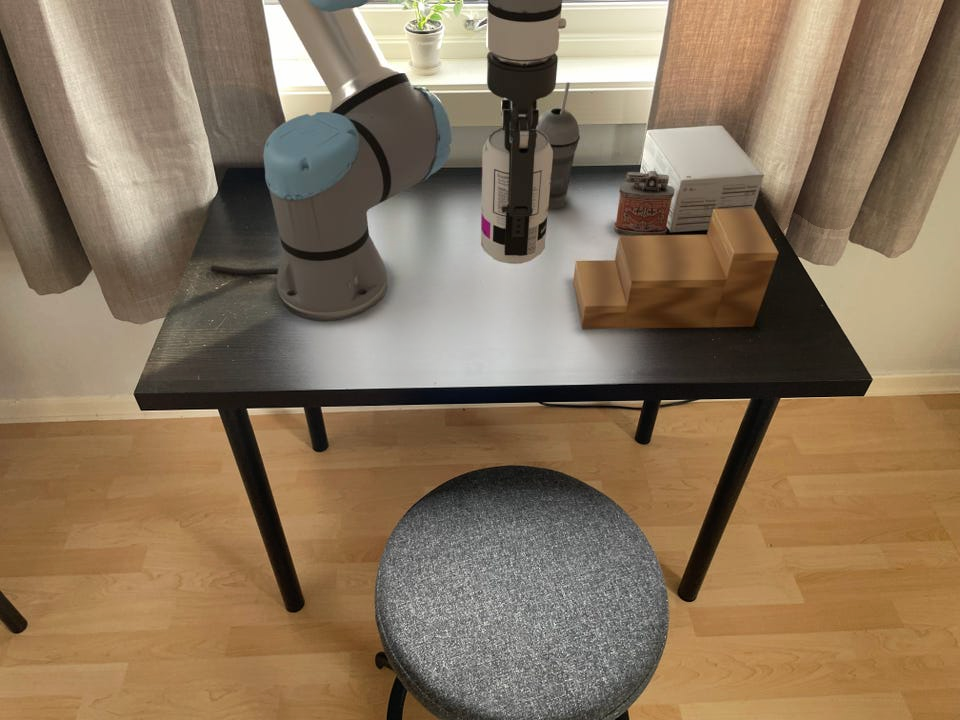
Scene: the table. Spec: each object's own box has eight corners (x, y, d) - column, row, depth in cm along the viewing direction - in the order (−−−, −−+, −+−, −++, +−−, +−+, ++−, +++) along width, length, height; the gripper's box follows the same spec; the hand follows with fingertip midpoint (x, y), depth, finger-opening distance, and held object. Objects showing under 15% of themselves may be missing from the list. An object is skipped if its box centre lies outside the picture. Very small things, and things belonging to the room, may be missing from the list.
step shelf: (581, 329, 98) (591, 255, 90) (572, 283, 105) (581, 210, 97) (753, 326, 99) (778, 252, 90) (732, 281, 106) (754, 208, 97)
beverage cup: (539, 185, 125) (546, 67, 111) (579, 195, 122) (592, 76, 109) (521, 206, 120) (527, 86, 106) (563, 217, 118) (575, 95, 104)
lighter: (665, 226, 116) (676, 168, 109) (666, 238, 113) (679, 180, 107) (613, 223, 116) (621, 166, 110) (614, 235, 114) (622, 177, 107)
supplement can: (467, 247, 95) (467, 139, 84) (511, 222, 99) (516, 116, 89) (514, 275, 91) (520, 165, 80) (557, 247, 95) (568, 140, 85)
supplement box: (750, 228, 116) (766, 174, 109) (669, 234, 114) (681, 180, 108) (710, 174, 128) (723, 123, 121) (637, 179, 126) (646, 127, 120)
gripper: (569, 95, 70) (551, 284, 86) (548, 15, 85) (536, 189, 101) (490, 95, 70) (486, 284, 86) (483, 15, 85) (481, 189, 101)
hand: (513, 232), depth 93 cm, fingers closed on supplement can, 8 cm apart
